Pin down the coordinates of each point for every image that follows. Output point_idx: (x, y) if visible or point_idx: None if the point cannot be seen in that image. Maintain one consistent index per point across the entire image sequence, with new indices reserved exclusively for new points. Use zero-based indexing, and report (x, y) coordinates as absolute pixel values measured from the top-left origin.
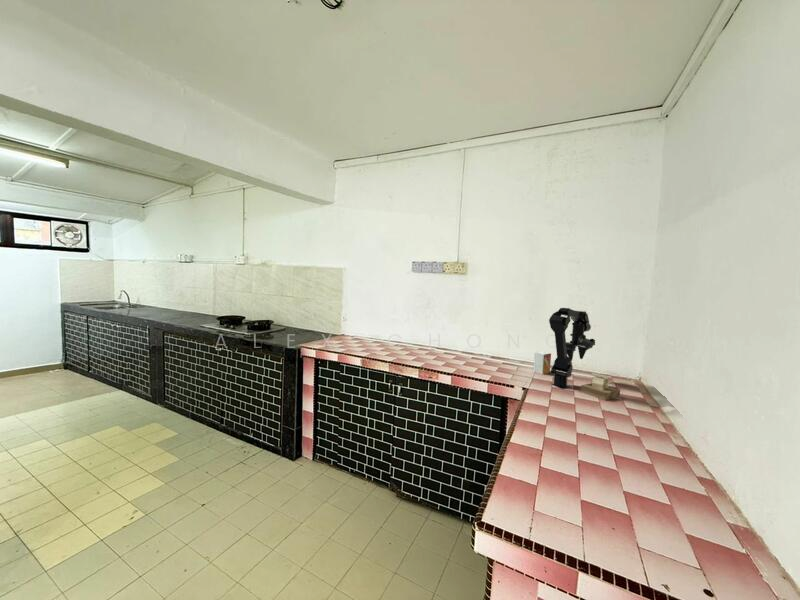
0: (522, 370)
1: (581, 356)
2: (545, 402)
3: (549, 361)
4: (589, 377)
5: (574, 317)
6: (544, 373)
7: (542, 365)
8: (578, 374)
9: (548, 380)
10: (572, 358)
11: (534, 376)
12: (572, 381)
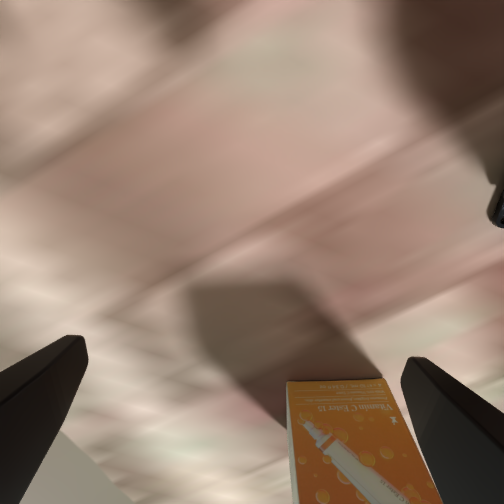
0: None
1: (53, 390)
2: None
3: (320, 489)
4: (25, 207)
5: None
6: (363, 389)
7: (421, 459)
8: (54, 295)
9: (466, 303)
10: (437, 382)
11: None
12: (310, 206)
